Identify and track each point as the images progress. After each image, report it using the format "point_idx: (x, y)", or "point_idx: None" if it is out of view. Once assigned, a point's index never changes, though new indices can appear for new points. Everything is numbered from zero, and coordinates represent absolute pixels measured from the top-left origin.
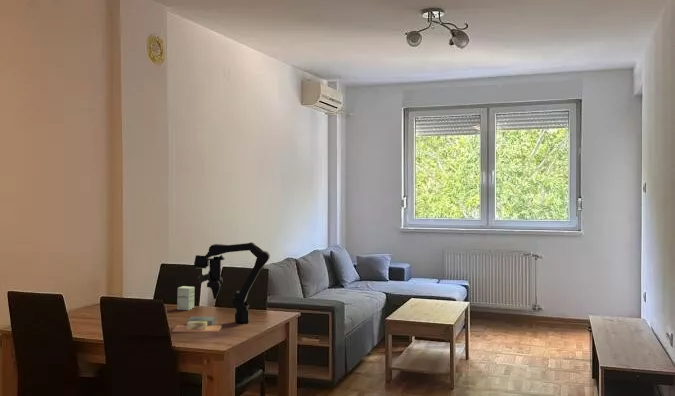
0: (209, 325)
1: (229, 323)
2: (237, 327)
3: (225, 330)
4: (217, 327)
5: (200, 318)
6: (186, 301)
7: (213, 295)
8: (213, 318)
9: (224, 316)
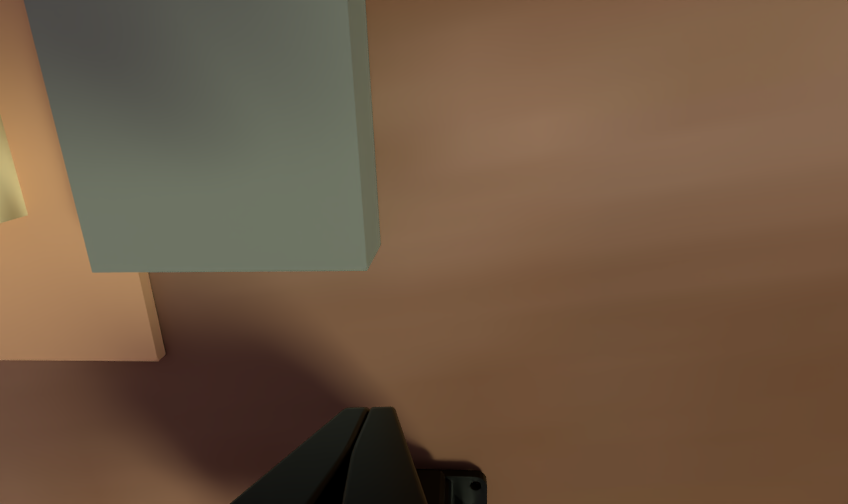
0: None
1: None
2: (169, 493)
3: (12, 405)
4: (49, 329)
5: (203, 74)
6: None
7: (272, 479)
8: (236, 270)
9: (791, 307)
